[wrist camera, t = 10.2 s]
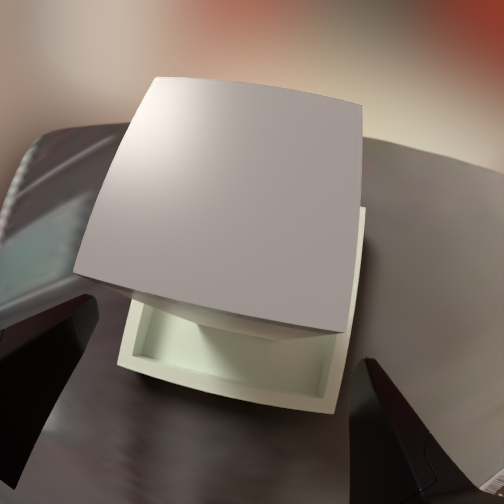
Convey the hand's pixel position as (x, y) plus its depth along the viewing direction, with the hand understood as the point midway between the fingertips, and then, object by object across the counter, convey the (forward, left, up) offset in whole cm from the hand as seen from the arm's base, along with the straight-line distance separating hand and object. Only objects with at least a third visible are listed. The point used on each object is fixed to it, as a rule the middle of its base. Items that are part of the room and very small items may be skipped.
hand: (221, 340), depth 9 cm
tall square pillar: (+3, +1, -9) cm, 10 cm away
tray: (+3, +1, -10) cm, 10 cm away
